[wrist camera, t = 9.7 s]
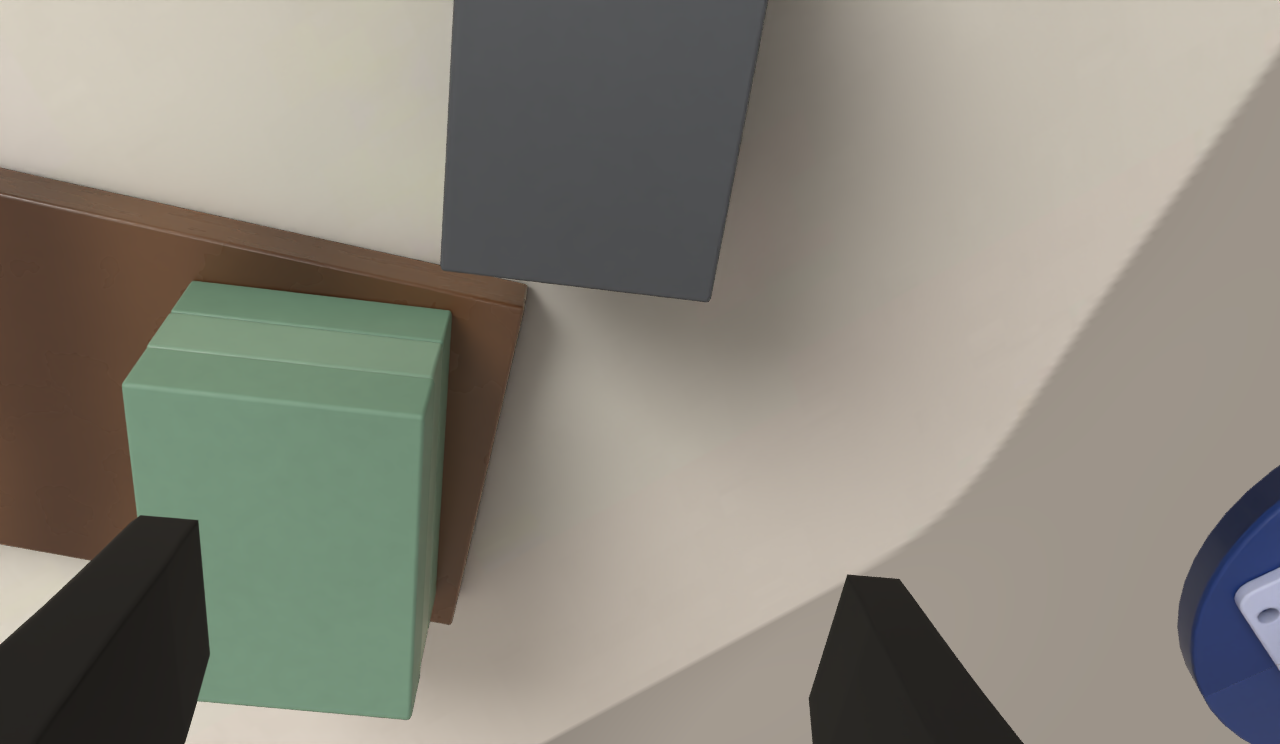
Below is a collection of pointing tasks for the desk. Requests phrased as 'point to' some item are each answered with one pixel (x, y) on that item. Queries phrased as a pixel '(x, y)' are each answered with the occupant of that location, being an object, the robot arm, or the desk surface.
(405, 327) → the green flat block
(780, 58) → the desk surface
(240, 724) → the desk surface
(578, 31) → the grey books
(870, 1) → the desk surface
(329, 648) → the sage book
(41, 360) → the book ledge
